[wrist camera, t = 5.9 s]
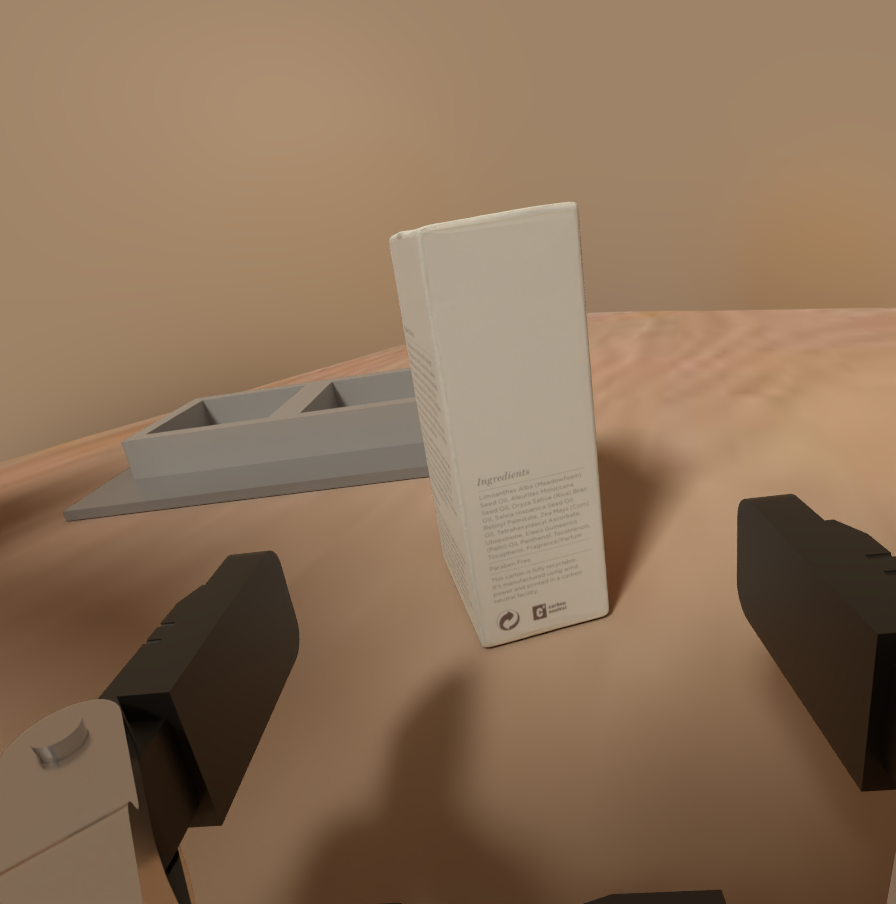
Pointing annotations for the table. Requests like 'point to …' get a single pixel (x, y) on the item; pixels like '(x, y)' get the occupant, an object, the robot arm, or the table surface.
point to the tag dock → (269, 445)
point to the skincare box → (508, 414)
